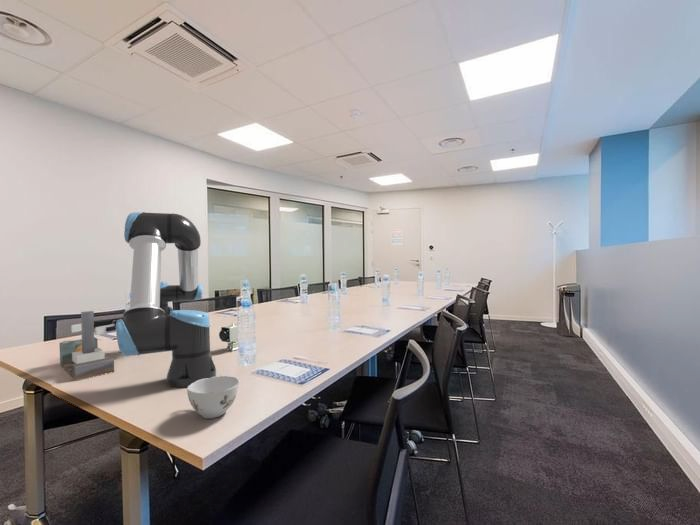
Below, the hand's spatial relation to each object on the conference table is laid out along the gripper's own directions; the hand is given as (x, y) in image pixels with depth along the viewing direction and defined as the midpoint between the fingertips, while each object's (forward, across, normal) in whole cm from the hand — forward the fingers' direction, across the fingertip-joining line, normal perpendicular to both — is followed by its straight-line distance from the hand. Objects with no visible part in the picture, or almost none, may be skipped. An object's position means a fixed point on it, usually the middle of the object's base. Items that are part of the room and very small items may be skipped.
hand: (83, 330), depth 119 cm
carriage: (-1, 0, -13) cm, 13 cm away
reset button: (-6, +12, -11) cm, 18 cm away
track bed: (-3, +4, -15) cm, 16 cm away
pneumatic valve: (-40, -33, -16) cm, 55 cm away
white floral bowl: (+11, -69, -16) cm, 72 cm away
